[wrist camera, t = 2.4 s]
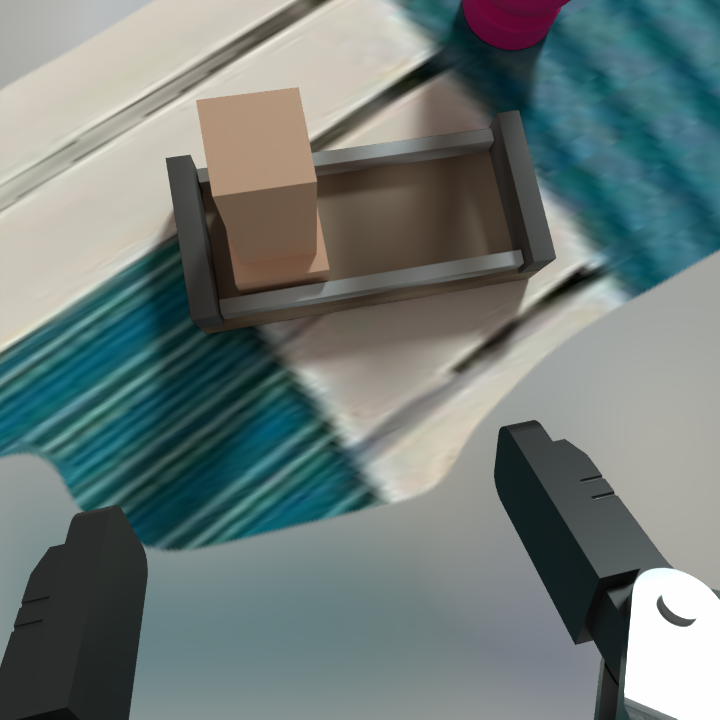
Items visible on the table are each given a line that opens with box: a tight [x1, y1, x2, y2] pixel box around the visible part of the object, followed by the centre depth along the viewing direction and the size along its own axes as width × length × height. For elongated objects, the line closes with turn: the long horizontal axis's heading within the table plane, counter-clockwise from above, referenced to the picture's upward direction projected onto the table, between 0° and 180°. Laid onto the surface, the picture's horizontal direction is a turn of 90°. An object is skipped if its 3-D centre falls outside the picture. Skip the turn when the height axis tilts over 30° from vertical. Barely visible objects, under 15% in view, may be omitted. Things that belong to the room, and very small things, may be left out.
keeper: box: [196, 87, 329, 295], centre depth 25 cm, size 5×6×10 cm
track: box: [166, 110, 556, 334], centre depth 30 cm, size 20×9×4 cm, turn 102°
